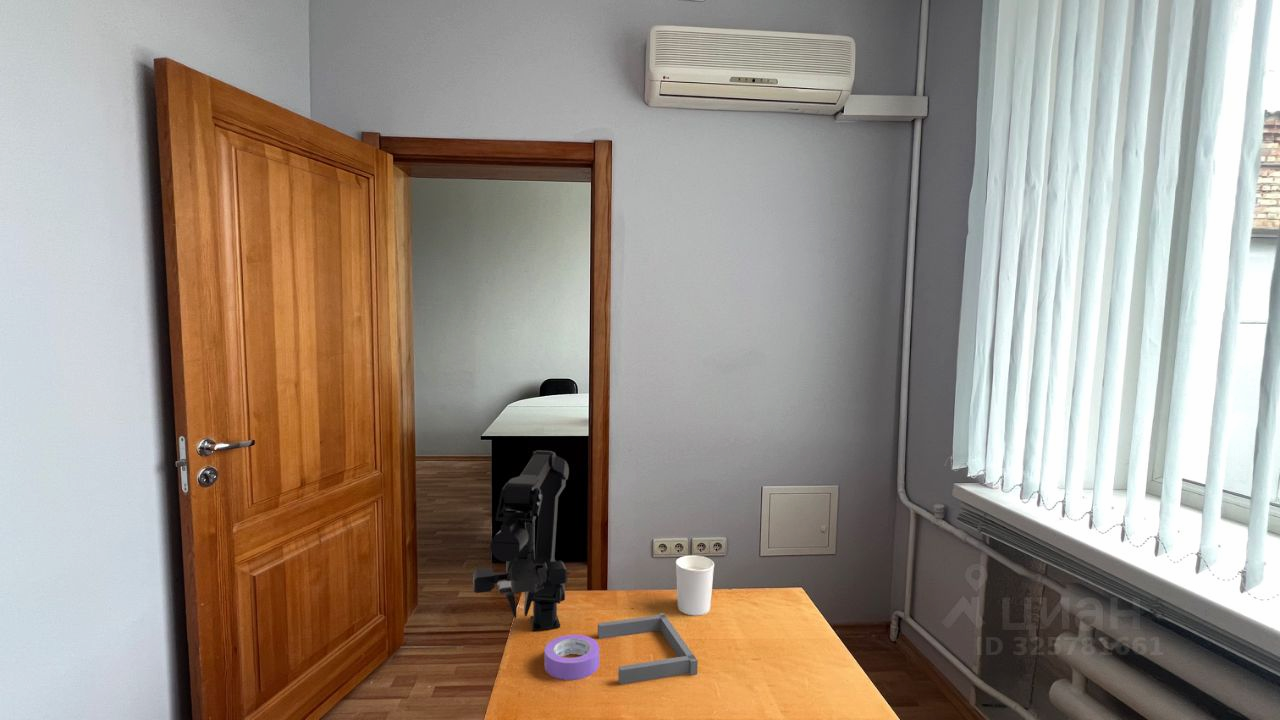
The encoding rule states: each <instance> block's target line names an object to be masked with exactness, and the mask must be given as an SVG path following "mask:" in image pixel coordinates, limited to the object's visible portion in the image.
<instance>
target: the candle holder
mask: <svg viewBox="0 0 1280 720" xmlns="http://www.w3.org/2000/svg"><path fill="white" fill-rule="evenodd" d="M675 567H676V569H675V571H676V572H675V573H676V594H677V595H676V596H677V597H676V599H677V609H678V610H679V611H680V612H681V613H682V614H685V615H687V616H703V615H706V614H708V613H709V612H710V611H711V604H712V595H713V594H712V593H713V592H712V591H713V582H714V581H713V580H714V579H713V578H714V569H715V562H714V561H713V560H712V559H710V558H708V557H706V556H701V555H685V556H681V557H678V558H677V559H676V560H675Z"/></svg>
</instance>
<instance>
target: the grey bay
mask: <svg viewBox="0 0 1280 720" xmlns="http://www.w3.org/2000/svg"><path fill="white" fill-rule="evenodd" d="M657 631H658V632H659V631H660V632H661V634H662V635H663V636H664V638H665V639H666V641H667V642H668V643H669V645H670V646H671V649H673V651H674V653H675V654H676V655H677V656H675V657H671V658H664V659H658V660H652V661H646V662H639V663H631V664H626V665H621V666H618V673H617V674H618V676H617V677H618V679H617V680H618V682H619V685H620V686H621V685H626V684H633V683H637V682H638V683H639V682H644V681H645V682H646V681H650V680H651V681H652V680H657V679H662V678H670V677H675V676H682V675H687V674H689V675H690V676H696V675H698V664H699V663H698V661H699V660H698V659H697V657H696V656H695V655H694V653H693V652H692V650H691V649H690V648H689V646H688V645H687V644H686V642H685V641H684V639H683V638H682V637H681V635H680V634H679V632H678V631H677V629H676V628H675V627H674V626H673V624H672V623H671V621H670V620H669V619H668V617H667V615H666V614H665V613H664V612H663V613H662V612H661V613H657V615H650V616H644V617H635V618H628V619H620V620H619V619H618V620H611V621H606V622H605V621H604V622H597V637H598V639H600V640H601V639H607V638H608V639H609V638H616V637H623V636H629V635H637V634H645V633H652V632H657Z"/></svg>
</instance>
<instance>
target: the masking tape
mask: <svg viewBox="0 0 1280 720" xmlns="http://www.w3.org/2000/svg"><path fill="white" fill-rule="evenodd" d="M569 654H577V655H578V656H576V657H565V656H564V655H566V656H569ZM581 655H582V656H581ZM561 656H562V657H561ZM544 666H545V667H544V669H545V672H546V671H547V672H548V673H549V674H550V675H549V676H551V677H553V676H554V677H553V678H555V679H558V678H559V679H558V680H562V679H564V681H576V680H575V679H577V680H581V678H582V679H584V678H588V677H590V676H592V675H593V674H594V673H596V672H597V671H598V669H599V667H600V645H599V643H598V641H596V639H594V638H592V637H590V636H587V635H582V634H567V635H562V636H557V637H556V638H553V639H552V640H550V641H549V642H547V644H546V645H545V646H544ZM547 672H546V673H547ZM548 673H547V674H548ZM565 679H566V680H565Z"/></svg>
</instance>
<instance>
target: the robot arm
mask: <svg viewBox="0 0 1280 720" xmlns="http://www.w3.org/2000/svg"><path fill="white" fill-rule="evenodd" d="M556 454H557V453H556V452H554V451H552V450H535V451H532V453H531V458H530V460H529V462H528V463H527V464H526V466H525V467H524V469H523V470H522V472H521V473H520V475H519V476H516V477H512V478H510V479H509V480H508V481H507V482H506V483H505V484H504V486H503V487H502V488H501V490H500V495H499V498H498V499H499V500H498V504H497V510H496V512H495V513H496V515H495V521H497V522H498V521H499V522H502V524H501V525H500V530H499V531H498V532H497V533H496V534H495V535H494V536H493V537H492V539H491V541H490V546H489V547H490V551H491V554H492V555H493V556H494V558H495V559H496V560H499V561H501V562H505V564H506V565H505V566H506V567H505V568H506V571H504V572H494V567H484V568H483V567H481V568H476V569H475V570H474V571H473V573H472V576H473V581H472V582H473V584H472V585H473V592H474V593H475V594H479V593H488V592H492V590H493V589H494V588H495V584H496V585H497V588H498V593H499V594H504V596H506V597H505V598H506V599H507V600H508V604H509V606H510V608H511V612H512V614H513V618H514V619H515V618H517V606H516V599H515V598H516V597H515V594H520V593H524V603H523V615H524V617H527V616H528V613H529V611H530V609H531V608H530V607H531V606H532V615H531V616H530V617H529V620H530V624H531V628H532V630H533V631H543V630H549V629H550V630H551V629H558V628H561V622H560V620H559V617H558V605H559V604H561V602H564V601H565V600H566V590H565V589H566V588H565V587H566V586H565V584H566V583H568V570H567V568H566V565H565V563H564V562H563V561H562V560H556V558H555V553H556V539H557V538H556V537H557V522H558V509H559V508H558V507H559V506H558V505H559V497H560V495H561V493H562V492H563V490H564V489H565V488H566V485H567V484H566V483H567V480H568V479H569V475H570V468H569V464H568V462H567V461H566V459H564V458H563V457H560V456H558V455H556ZM536 519H537V531H536V529H535V528H536V527H535V526H536ZM535 532H536V533H535ZM535 535H536V536H535ZM535 537H536V541H535ZM535 543H536V544H535ZM535 545H536V546H535ZM531 604H532V605H531Z"/></svg>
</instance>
